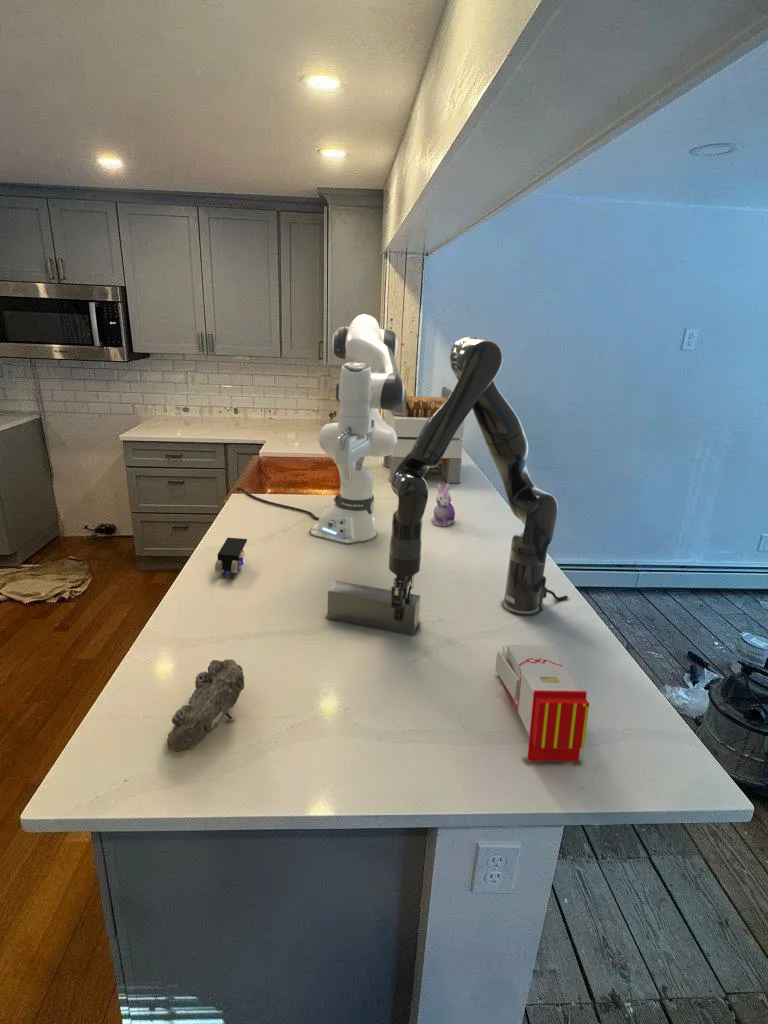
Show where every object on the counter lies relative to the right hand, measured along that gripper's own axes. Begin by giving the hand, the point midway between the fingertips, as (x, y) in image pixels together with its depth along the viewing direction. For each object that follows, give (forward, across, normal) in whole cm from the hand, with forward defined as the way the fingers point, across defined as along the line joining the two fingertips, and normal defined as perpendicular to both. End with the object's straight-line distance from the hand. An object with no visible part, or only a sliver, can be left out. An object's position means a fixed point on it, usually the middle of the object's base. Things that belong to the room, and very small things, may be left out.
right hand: (401, 613), depth 141 cm
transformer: (+3, +139, +26) cm, 142 cm away
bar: (+3, 0, +7) cm, 8 cm away
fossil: (+3, -45, +26) cm, 52 cm away
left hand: (-28, +22, +21) cm, 41 cm away
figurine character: (+3, +13, +55) cm, 57 cm away
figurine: (+3, +76, +3) cm, 77 cm away
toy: (+3, -22, -33) cm, 40 cm away
